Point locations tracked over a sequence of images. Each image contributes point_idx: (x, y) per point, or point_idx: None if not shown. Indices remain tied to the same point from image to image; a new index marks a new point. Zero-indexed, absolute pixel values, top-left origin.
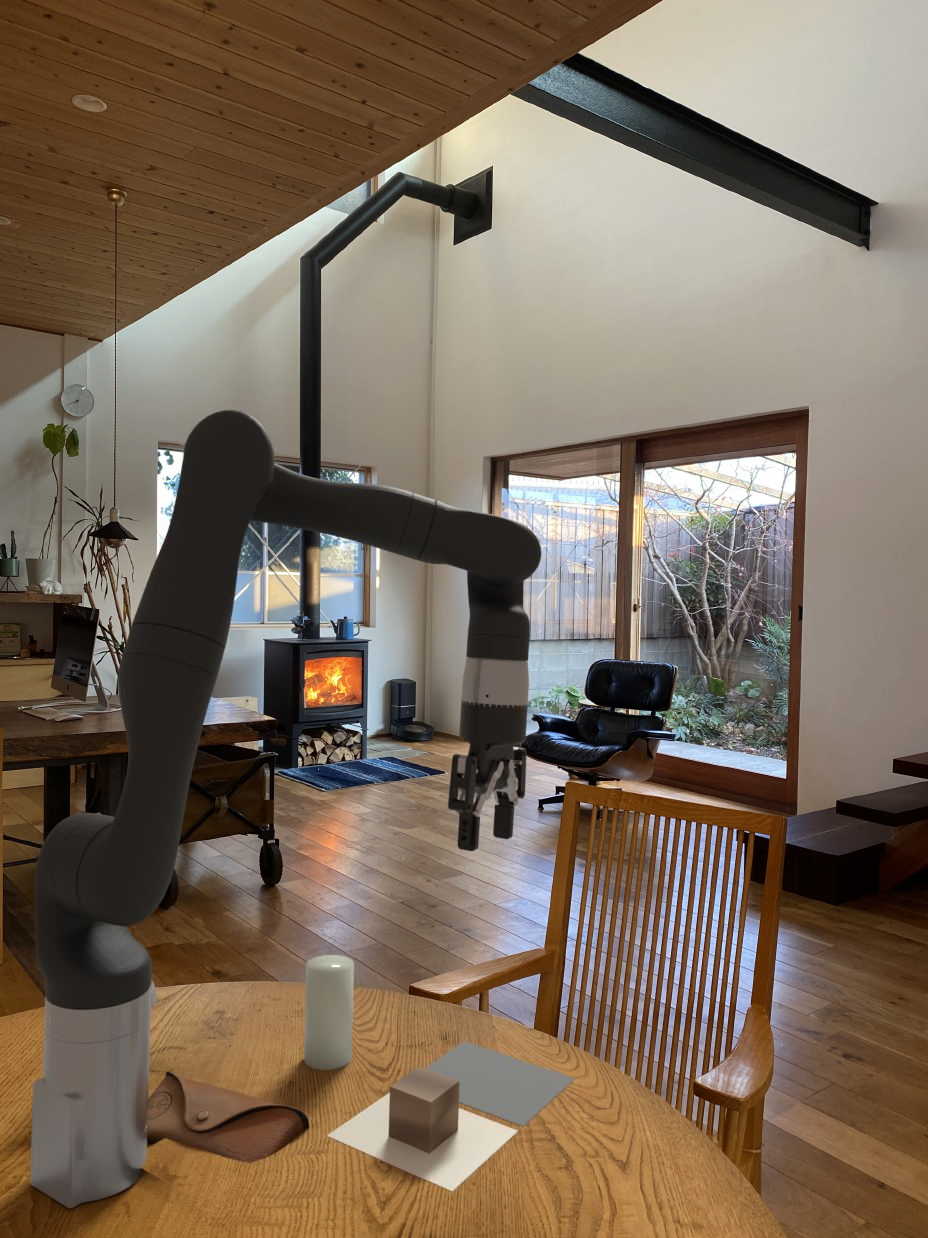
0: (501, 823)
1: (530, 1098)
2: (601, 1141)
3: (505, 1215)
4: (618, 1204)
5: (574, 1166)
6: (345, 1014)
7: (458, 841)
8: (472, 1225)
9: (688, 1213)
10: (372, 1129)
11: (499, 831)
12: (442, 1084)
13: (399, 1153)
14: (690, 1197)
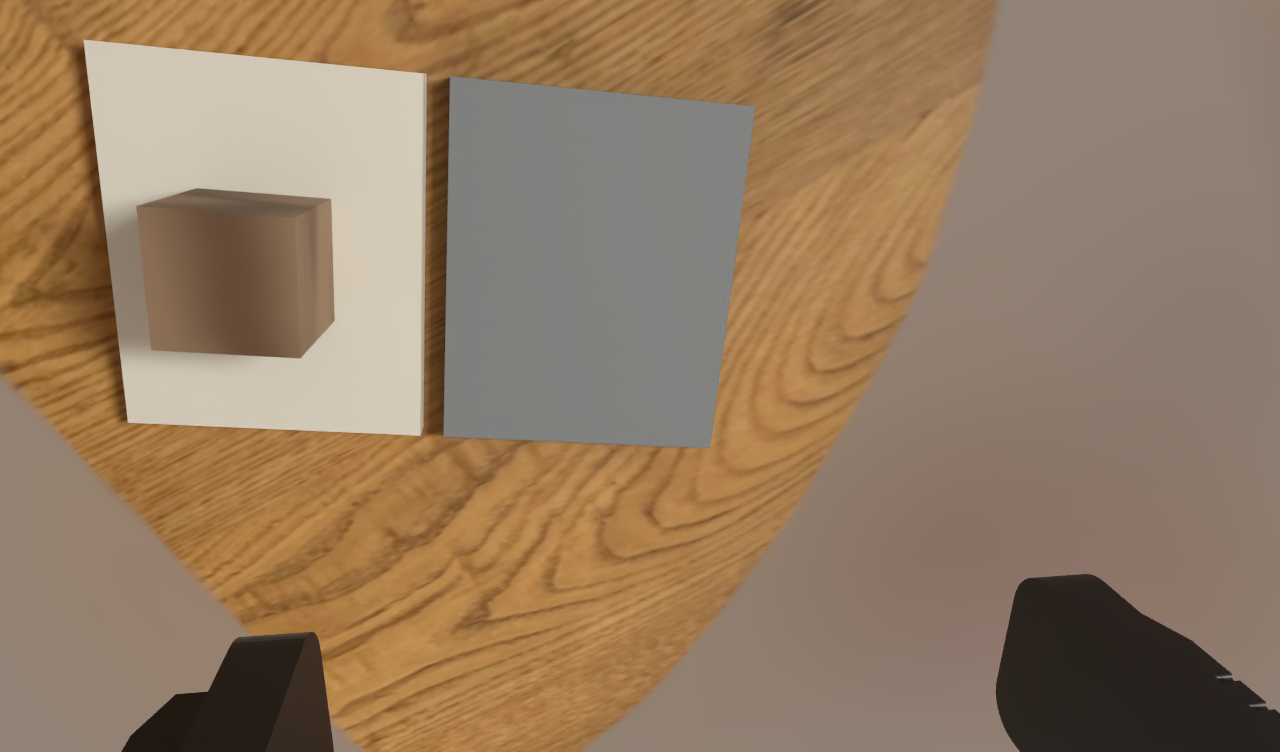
0: (1100, 741)
1: (565, 399)
2: (528, 562)
3: (183, 513)
4: (353, 654)
5: (413, 552)
6: None
7: (148, 724)
8: (111, 477)
9: (406, 745)
10: (191, 134)
11: (1048, 661)
12: (250, 329)
13: None
14: (452, 735)
